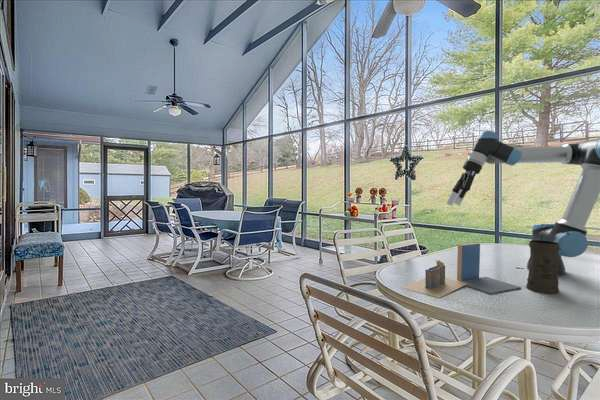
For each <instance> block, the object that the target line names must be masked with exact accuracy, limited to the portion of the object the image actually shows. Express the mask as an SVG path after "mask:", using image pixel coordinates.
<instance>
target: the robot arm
mask: <svg viewBox="0 0 600 400" xmlns="http://www.w3.org/2000/svg"><path fill="white" fill-rule="evenodd" d="M467 155H468V156H467V158H466V160H465V162H464V163H463V166H462V169H463V170H464V172H462V174H461V176H460V177H459V179H458V180H457V181H456V183H455V185H454V186H453V188H452V191H451V193H450V195H449V197H448V199H447V201H446V204H447V205H449V206H451V207H453V205H454V204H455V205H457V206H461V204H462V202H463V200H464V198H465V196H466V195H467V193H468V192H469V191H470V190H471V187H472V185H473V183H474V182H473V181H474V180H475V178H476V177H475V176H476V175H478V174H480V173H481V170H482V169H483V166H484V165H485V163H486V164H491V165H494V164H506V165H509V166H511V167H512V166H516V164H523V163H524V164H525V163H526V164H527V163H529V164H530V163H532V164H534V163H537V164H540V163H560V164H562V165H574V166H575V165H576V166H580V167H581V168H582V171H581V173H580V175H579V178H578V180H577V182H576V185H575V187H574V190H573V192H572V194H571V197H570V199H569V201H568V203H567V205H566V207H565V210H564V213H563V215H562V218H561V219H560V220H557V221H555V223H535V224H533V226H532V230H531V232H532V236H531V241H532V240H542V241H552V242H557V243H559V247H560V248H559V252H558V275H563V274H566V266H565V263H564V261H563V259H562V257H567V258H576V257H579V256H581V255H582V254H584V253H585V252H586V250H587V249H588V246H589V241H588V240H587V239H588V238H587V237H586V236H587V234H588V230H587V229H586V224H587V223H588V220H589V218H590V217H591V213H592V211H593V210H594V207H595V204H596V202H597V199H598V198H599V196H600V138H598V139H597V138H596V139H591V140H587V141H582V142H577V143H565V144H563V145H562V146H561V145H560V146H534V147H533V146H528V147H525V146H524V147H522V146H521V147H518V146H517V147H514V146H511V145H509V144H506V143H505V142H502V141H500V140H499V134H498V133H496V132H495V131H492V130H488V129H487V130H486V129H485V130H483V131H481V133H480V134H479V135H478V137H477V139H476V141H475V143H474V145H473V147H472V148H471V150H470V152H468V154H467ZM529 263H530V257H529V258H528V261H527V263H526V269H527V270H529Z"/></svg>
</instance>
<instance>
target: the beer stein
mask: <svg viewBox="0 0 600 400" xmlns="http://www.w3.org/2000/svg"><path fill="white" fill-rule="evenodd" d="M528 246H529V253H530V254H529V258H530V263H529V269H528V277H527V279H526V280H527V282H526V285H525V287H526V289H528V290H530V291H533V292H536V293H540V294H548V295H551V294H554V293H555V294H559V292H560V289H559V284H560V283H559V274H558V252H559V248H560V247H559V243H557V242H552V241H542V240H532V239H531V240H529V243H528Z"/></svg>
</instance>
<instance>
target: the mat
mask: <svg viewBox="0 0 600 400" xmlns="http://www.w3.org/2000/svg"><path fill="white" fill-rule="evenodd" d="M460 282H465V283H468V284H466V285H464V286H465V287H468V288H470V289H474V290H475V291H480V292H482V293H485V294H488V295H494V294H501V293H506V292H511V291H516V290H517V291H518V290H522V286H518V285H515V284H512V283H509V282H505V281H502V280H499V279H495V278H491V277H488V276H482V277H479V278H475V279H468V280H462V281H460ZM464 286H463V287H464Z"/></svg>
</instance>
